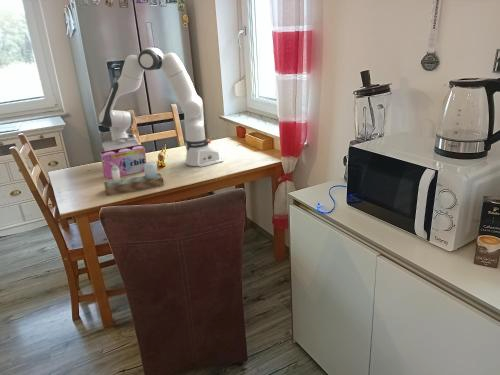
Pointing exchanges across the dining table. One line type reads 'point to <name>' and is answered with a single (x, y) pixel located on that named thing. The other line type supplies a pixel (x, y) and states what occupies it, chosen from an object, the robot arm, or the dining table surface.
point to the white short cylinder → (150, 170)
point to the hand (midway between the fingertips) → (125, 160)
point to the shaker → (116, 175)
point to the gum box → (124, 160)
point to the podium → (132, 184)
